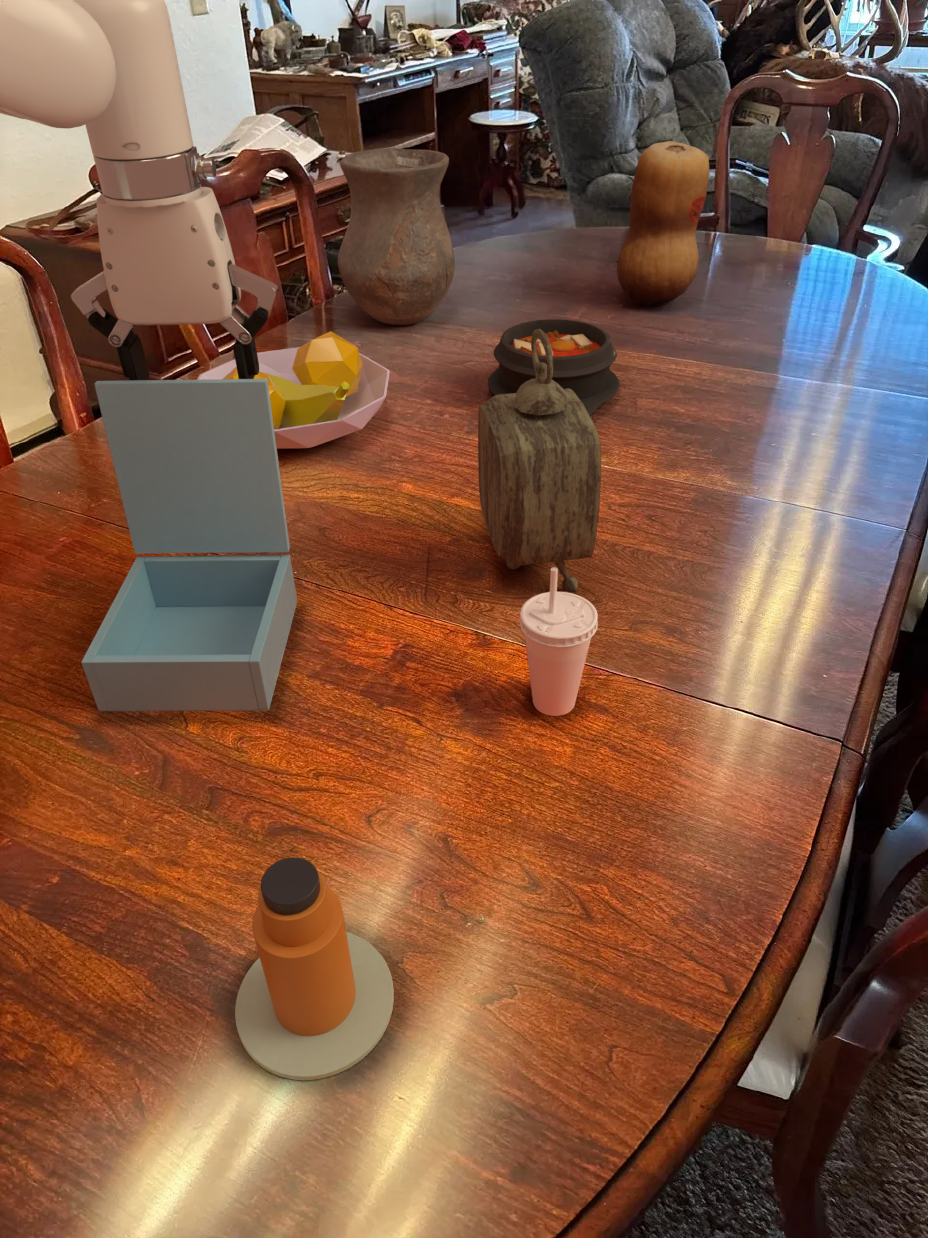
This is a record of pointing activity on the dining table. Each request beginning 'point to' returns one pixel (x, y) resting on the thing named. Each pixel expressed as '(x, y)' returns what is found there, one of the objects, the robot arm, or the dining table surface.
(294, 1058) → the coaster
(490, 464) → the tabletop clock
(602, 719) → the dining table surface
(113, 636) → the grey-blue rectangular box
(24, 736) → the dining table surface
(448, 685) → the dining table surface
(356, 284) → the vase
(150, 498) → the lid
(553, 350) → the casserole
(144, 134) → the robot arm
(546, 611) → the smoothie
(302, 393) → the fruit bowl
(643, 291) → the butternut squash
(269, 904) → the bottle
